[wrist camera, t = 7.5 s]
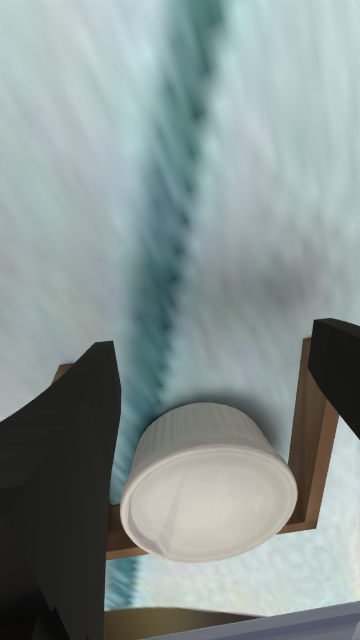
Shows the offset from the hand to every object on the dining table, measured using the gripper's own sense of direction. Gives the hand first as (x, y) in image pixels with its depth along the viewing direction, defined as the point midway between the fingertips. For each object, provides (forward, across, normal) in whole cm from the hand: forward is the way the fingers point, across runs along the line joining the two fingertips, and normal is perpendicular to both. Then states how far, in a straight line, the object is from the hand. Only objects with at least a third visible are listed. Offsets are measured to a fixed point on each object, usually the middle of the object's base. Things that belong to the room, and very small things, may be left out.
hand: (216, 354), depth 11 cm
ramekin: (+8, 0, +13) cm, 16 cm away
